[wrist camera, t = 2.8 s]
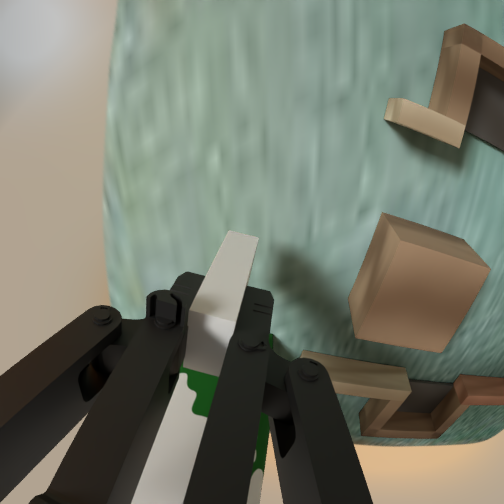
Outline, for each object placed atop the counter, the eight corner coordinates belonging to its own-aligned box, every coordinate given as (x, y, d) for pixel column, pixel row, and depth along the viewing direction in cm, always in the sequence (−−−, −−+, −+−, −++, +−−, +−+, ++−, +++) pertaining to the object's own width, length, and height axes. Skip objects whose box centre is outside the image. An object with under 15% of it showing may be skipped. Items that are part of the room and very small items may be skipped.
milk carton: (163, 291, 22) (11, 571, 4) (291, 327, 22) (252, 651, 4) (157, 371, 26) (67, 580, 8) (259, 401, 26) (216, 627, 8)
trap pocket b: (385, 376, 23) (390, 400, 20) (462, 384, 22) (470, 405, 20) (358, 413, 25) (361, 435, 23) (432, 418, 25) (437, 438, 23)
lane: (389, 98, 14) (403, 98, 12) (602, 221, 14) (619, 234, 12) (298, 361, 23) (297, 386, 21) (507, 386, 22) (516, 404, 20)
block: (381, 210, 17) (400, 240, 14) (462, 238, 17) (490, 269, 14) (347, 296, 20) (355, 337, 17) (424, 314, 20) (441, 353, 16)
